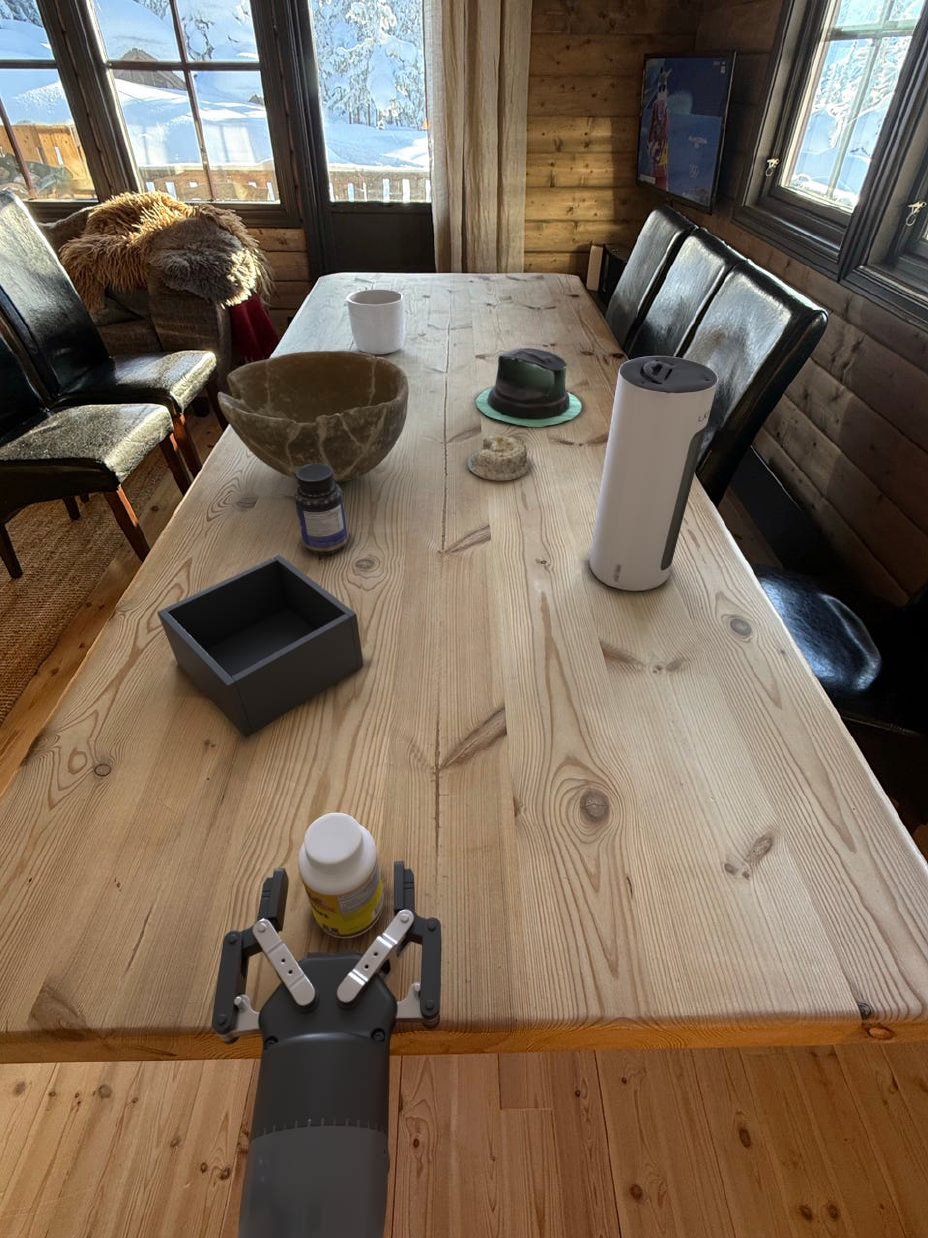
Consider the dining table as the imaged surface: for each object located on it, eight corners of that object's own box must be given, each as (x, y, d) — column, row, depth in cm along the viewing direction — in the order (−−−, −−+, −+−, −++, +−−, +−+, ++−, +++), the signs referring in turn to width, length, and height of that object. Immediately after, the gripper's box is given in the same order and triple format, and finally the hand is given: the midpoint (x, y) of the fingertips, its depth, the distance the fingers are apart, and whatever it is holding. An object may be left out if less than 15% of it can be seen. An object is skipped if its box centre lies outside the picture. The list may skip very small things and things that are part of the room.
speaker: (646, 604, 80) (696, 395, 63) (572, 573, 85) (599, 371, 68) (681, 563, 87) (735, 363, 70) (610, 536, 91) (644, 343, 74)
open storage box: (245, 738, 65) (227, 686, 60) (177, 663, 73) (156, 611, 68) (363, 665, 72) (356, 613, 67) (290, 604, 80) (279, 554, 75)
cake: (528, 456, 111) (533, 426, 107) (527, 486, 103) (532, 455, 100) (470, 449, 111) (473, 418, 107) (464, 478, 103) (467, 447, 100)
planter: (377, 362, 142) (372, 308, 135) (341, 349, 149) (334, 297, 141) (418, 348, 149) (416, 296, 142) (382, 335, 155) (378, 285, 148)
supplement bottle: (304, 891, 53) (281, 821, 46) (369, 861, 55) (356, 790, 48) (327, 956, 49) (306, 889, 42) (396, 921, 51) (385, 852, 44)
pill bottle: (309, 531, 92) (296, 459, 85) (352, 532, 92) (342, 460, 85) (299, 556, 88) (284, 483, 81) (344, 557, 88) (333, 484, 80)
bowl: (219, 519, 95) (190, 420, 85) (257, 436, 115) (237, 349, 105) (410, 515, 95) (404, 417, 86) (415, 434, 116) (410, 346, 106)
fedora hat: (600, 390, 128) (567, 434, 115) (520, 418, 139) (481, 461, 126) (571, 314, 122) (532, 351, 108) (489, 351, 133) (445, 388, 120)
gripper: (448, 1122, 34) (437, 836, 46) (164, 1146, 33) (229, 848, 45) (450, 1154, 39) (439, 888, 51) (203, 1176, 38) (252, 900, 50)
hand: (340, 870), depth 48 cm, fingers open, 8 cm apart
